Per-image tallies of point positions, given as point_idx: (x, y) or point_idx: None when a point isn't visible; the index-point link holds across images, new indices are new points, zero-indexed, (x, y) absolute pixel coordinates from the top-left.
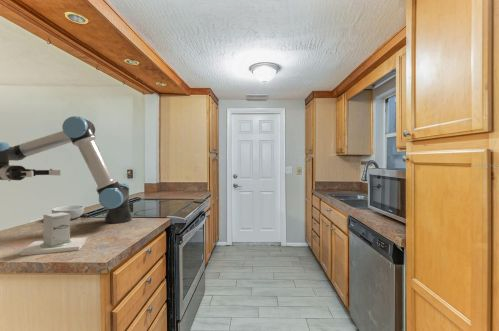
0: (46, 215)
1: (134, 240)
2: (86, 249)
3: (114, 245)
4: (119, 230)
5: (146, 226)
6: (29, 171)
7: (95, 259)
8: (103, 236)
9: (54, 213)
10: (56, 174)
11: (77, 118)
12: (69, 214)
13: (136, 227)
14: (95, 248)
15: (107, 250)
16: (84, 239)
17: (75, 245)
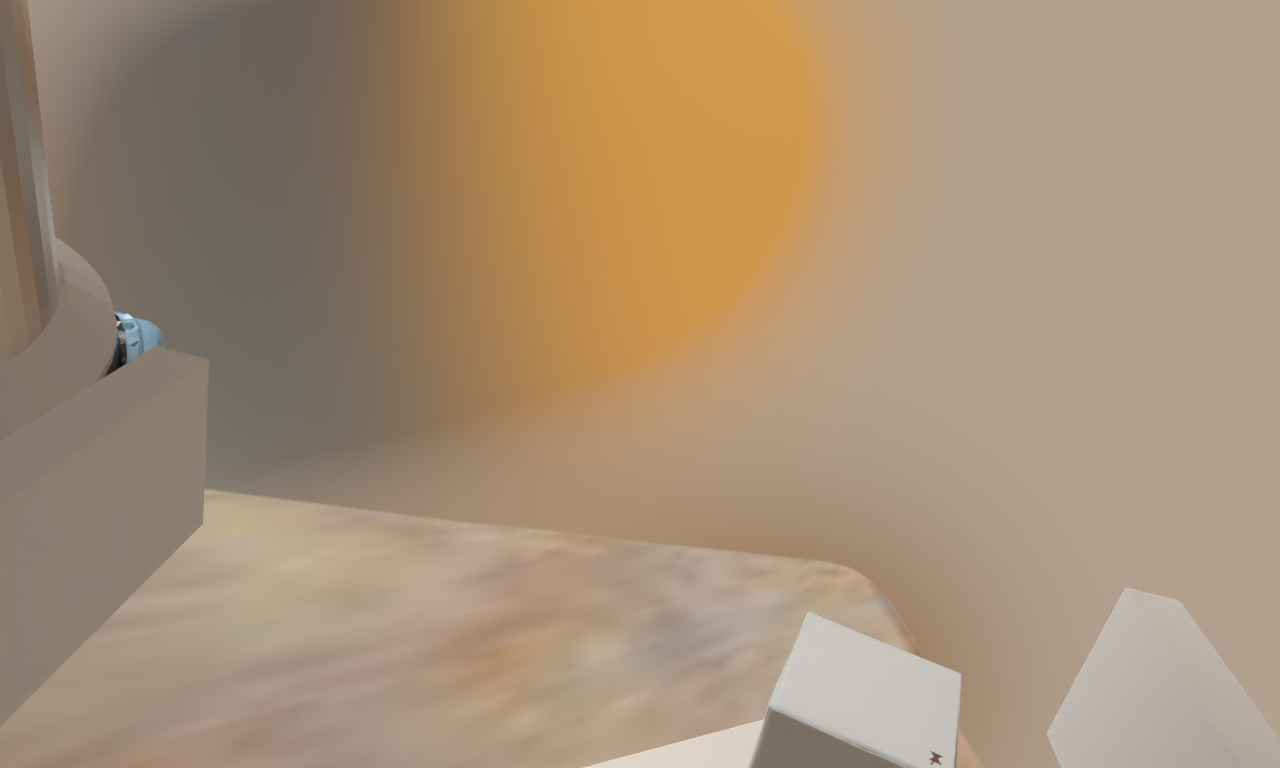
0: (956, 743)
1: (535, 539)
2: (754, 700)
3: (646, 598)
4: (235, 671)
5: None
6: (1223, 666)
7: (859, 609)
8: (442, 718)
9: (864, 722)
10: (134, 561)
11: None
12: (812, 617)
13: (143, 586)
14: (723, 664)
15: (734, 603)
16: (637, 753)
17: None
